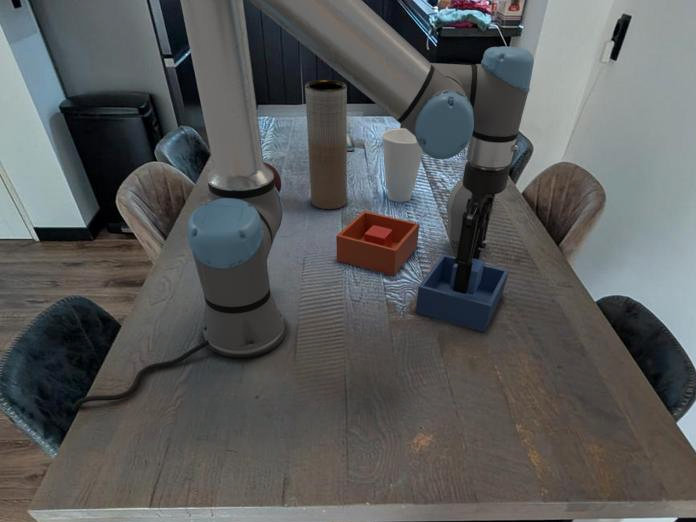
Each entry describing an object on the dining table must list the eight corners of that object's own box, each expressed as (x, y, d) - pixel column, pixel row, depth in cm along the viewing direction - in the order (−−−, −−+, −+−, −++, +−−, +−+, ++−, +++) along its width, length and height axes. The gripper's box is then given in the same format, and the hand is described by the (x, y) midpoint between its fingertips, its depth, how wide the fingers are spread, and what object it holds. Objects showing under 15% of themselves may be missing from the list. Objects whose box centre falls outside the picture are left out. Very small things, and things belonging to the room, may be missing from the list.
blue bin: (484, 332, 94) (490, 306, 89) (415, 312, 98) (418, 286, 93) (502, 295, 103) (509, 270, 98) (438, 278, 107) (442, 253, 102)
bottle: (449, 260, 112) (474, 116, 90) (432, 238, 120) (451, 100, 98) (492, 255, 115) (527, 113, 93) (473, 234, 122) (500, 98, 100)
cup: (398, 209, 131) (402, 146, 119) (370, 195, 137) (372, 133, 125) (428, 198, 136) (436, 137, 124) (400, 185, 142) (405, 125, 131)
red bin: (393, 275, 107) (395, 250, 103) (336, 260, 111) (336, 235, 107) (417, 247, 116) (419, 223, 112) (363, 234, 120) (363, 210, 116)
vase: (353, 200, 134) (354, 83, 114) (334, 213, 128) (331, 92, 108) (324, 192, 137) (320, 77, 117) (304, 204, 132) (296, 85, 111)
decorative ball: (273, 211, 128) (268, 172, 121) (240, 205, 130) (233, 166, 123) (288, 197, 135) (285, 159, 127) (257, 191, 137) (252, 154, 129)
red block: (383, 258, 111) (384, 238, 107) (363, 253, 112) (364, 233, 109) (391, 249, 114) (392, 229, 110) (372, 244, 116) (373, 224, 112)
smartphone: (349, 134, 170) (353, 148, 160) (349, 136, 171) (353, 151, 161) (329, 133, 170) (331, 148, 159) (329, 136, 170) (331, 151, 160)
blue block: (473, 295, 95) (478, 272, 91) (449, 289, 96) (453, 266, 92) (480, 282, 98) (484, 260, 94) (456, 277, 99) (460, 255, 96)
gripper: (496, 186, 73) (468, 312, 90) (522, 150, 84) (493, 268, 101) (450, 177, 75) (431, 302, 92) (481, 143, 87) (459, 260, 103)
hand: (464, 284), depth 97 cm, fingers closed on blue block, 5 cm apart
